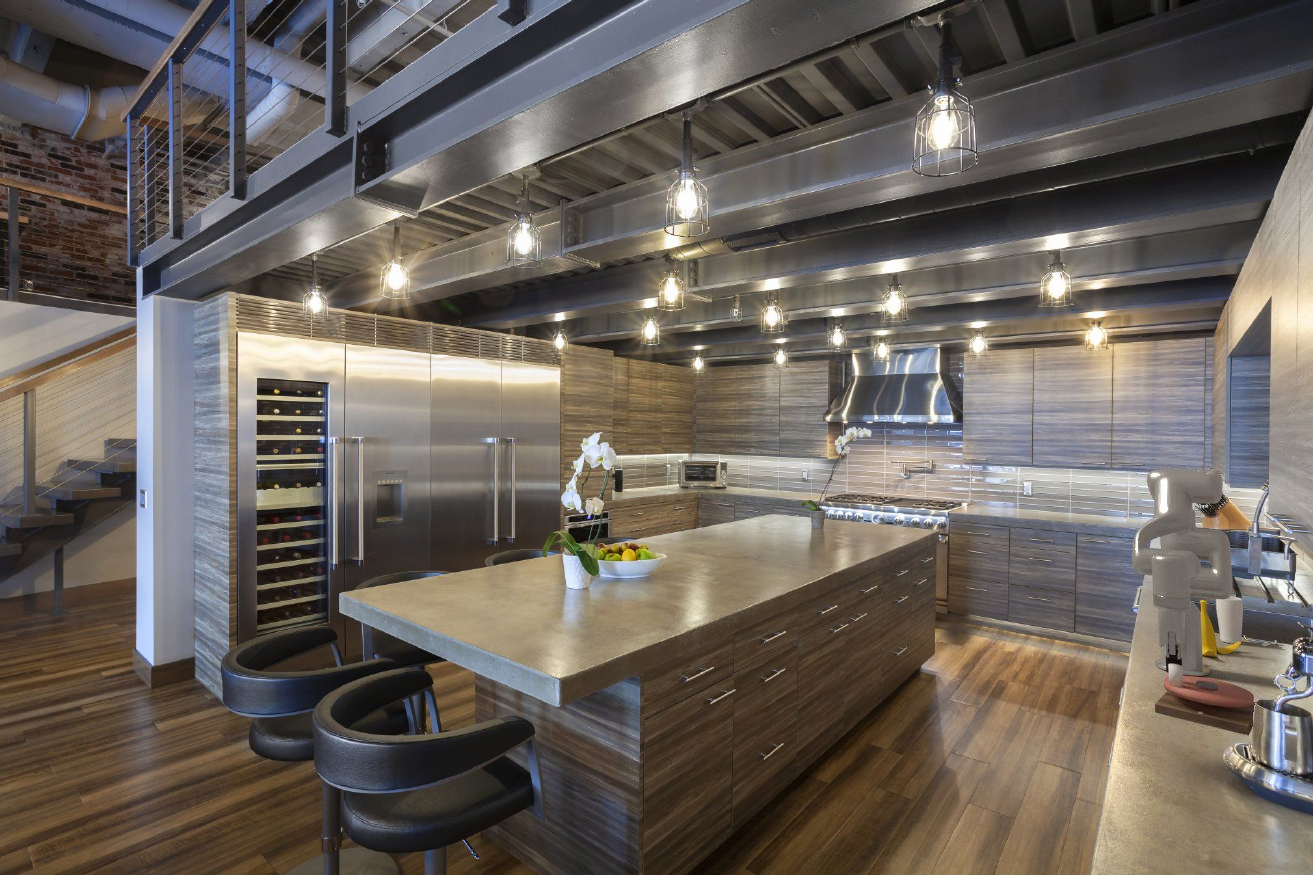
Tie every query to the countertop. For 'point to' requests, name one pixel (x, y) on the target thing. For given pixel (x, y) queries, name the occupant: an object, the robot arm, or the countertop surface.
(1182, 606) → the robot arm
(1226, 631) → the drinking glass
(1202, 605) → the banana peel
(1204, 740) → the countertop surface
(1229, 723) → the wheel base
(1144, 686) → the countertop surface
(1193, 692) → the handwheel
